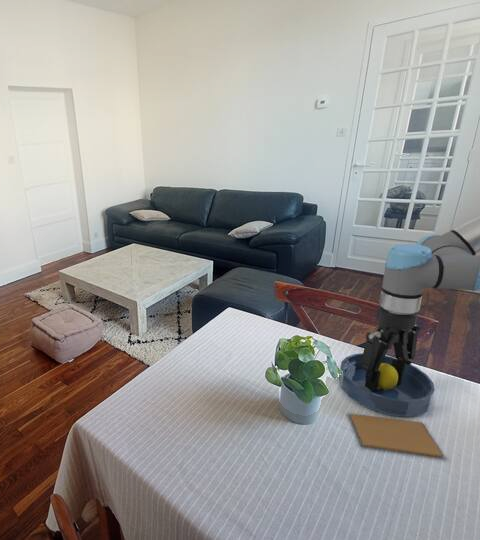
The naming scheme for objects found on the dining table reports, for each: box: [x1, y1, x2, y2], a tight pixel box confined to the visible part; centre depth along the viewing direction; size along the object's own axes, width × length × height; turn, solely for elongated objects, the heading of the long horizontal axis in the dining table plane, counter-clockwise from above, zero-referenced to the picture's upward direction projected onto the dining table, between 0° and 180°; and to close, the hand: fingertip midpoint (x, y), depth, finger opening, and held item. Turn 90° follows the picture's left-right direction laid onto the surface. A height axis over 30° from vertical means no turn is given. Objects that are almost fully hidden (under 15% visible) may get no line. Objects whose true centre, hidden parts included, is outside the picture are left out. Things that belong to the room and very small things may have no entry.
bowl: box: [338, 352, 436, 418], centre depth 88 cm, size 19×19×5 cm
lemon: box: [378, 363, 398, 390], centre depth 88 cm, size 6×6×8 cm
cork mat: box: [350, 413, 443, 458], centre depth 76 cm, size 14×9×1 cm, turn 73°
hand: (382, 385), depth 89 cm, fingers open, 7 cm apart
